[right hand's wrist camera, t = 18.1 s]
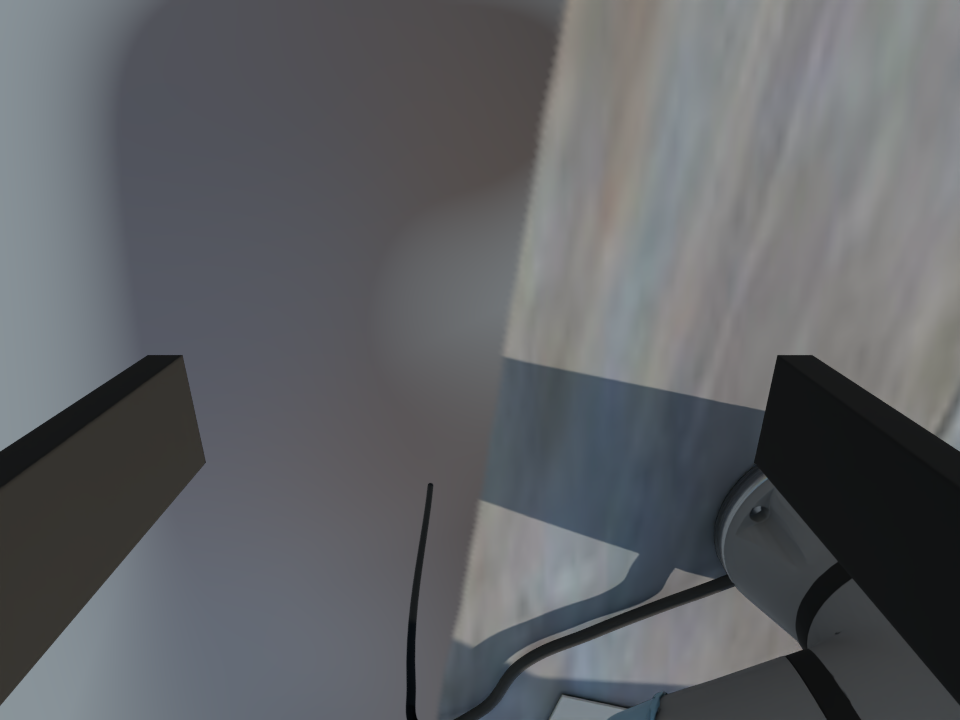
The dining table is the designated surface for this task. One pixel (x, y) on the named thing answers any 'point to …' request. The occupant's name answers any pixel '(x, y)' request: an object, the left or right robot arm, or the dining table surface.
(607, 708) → the invitation card
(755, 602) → the right robot arm
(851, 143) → the dining table surface
